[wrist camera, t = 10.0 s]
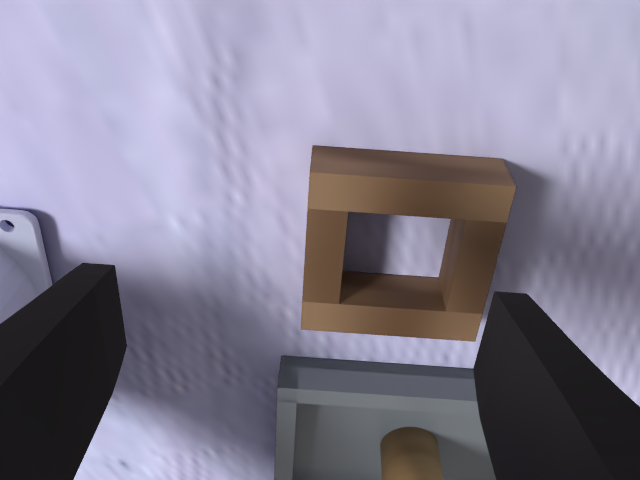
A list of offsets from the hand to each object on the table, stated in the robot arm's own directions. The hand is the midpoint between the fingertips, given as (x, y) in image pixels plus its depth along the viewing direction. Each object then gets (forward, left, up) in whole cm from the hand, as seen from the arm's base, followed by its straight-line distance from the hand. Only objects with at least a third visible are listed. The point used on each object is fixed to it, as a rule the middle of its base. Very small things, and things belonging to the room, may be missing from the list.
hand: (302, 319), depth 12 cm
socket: (+3, -4, -10) cm, 11 cm away
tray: (+5, -15, -10) cm, 19 cm away
